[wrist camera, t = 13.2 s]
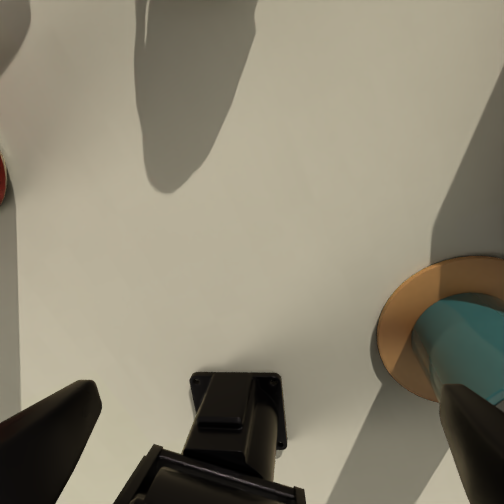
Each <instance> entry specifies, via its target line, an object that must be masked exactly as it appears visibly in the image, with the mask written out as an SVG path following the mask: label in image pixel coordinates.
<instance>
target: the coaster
mask: <svg viewBox="0 0 504 504" xmlns="http://www.w3.org/2000/svg"><path fill="white" fill-rule="evenodd" d="M469 292H470V293H484V294H488V295H492V296H495V297H497V298H500V299H501V300H503V301H504V259H501V258H496V257H488V256H467V257H458V258H453V259H449V260H445V261H442V262H439V263H436V264H433V265H431V266H429V267H427V268H424V269H422V270H421V271H419V272H417V273H416V274H414V275H412V276H411V277H410V278H409V279H407V280H406V281H405V282H403V283H402V284H401V285H400V286H399V287H398V288H397V289H396V290H395V292H394V293H393V294H392V295H391V297H390V298H389V299H388V301H387V303H386V304H385V306H384V308H383V310H382V313H381V315H380V318H379V322H378V326H377V345H378V350H379V354H380V356H381V359H382V361H383V364H384V365H385V367H386V369H387V370H388V372H389V373H390V374H391V376H392V377H393V378H394V379H395V380H396V381H397V382H398V383H399V384H400V385H401V386H403V387H404V388H406V389H407V390H408V391H410V392H412V393H414V394H416V395H417V396H420V397H422V398H425V399H427V400H431V401H434V402H438V403H439V401H438V399H437V398H436V396H435V394H434V392H433V390H432V388H431V386H430V384H429V382H428V380H427V379H426V377H425V375H424V373H423V371H422V369H421V367H420V365H419V363H418V362H417V360H416V358H415V356H414V353H413V351H412V346H411V336H412V331H413V328H414V325H415V323H416V321H417V320H418V318H419V317H420V316H421V314H422V313H423V312H424V311H425V310H426V309H427V308H428V307H430V306H431V305H433V304H434V303H436V302H437V301H439V300H441V299H443V298H446V297H448V296H452V295H455V294H460V293H469Z"/></svg>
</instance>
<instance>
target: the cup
mask: <svg viewBox="0 0 504 504" xmlns="http://www.w3.org/2000/svg"><path fill="white" fill-rule="evenodd" d="M411 346H412V351H413V353H414V356H415V358H416V360H417V362H418V363H419V365H420V367H421V369H422V371H423V373H424V375H425V377H426V379H427V380H428V382H429V384H430V386H431V388H432V390H433V392H434V394H435V396H436V398H437V399H438V401H439V403H440V398H441V388H442V386H443V385H444V384H463V385H465V386H466V387H468V388H469V389H471V390H472V391H474V392H475V393H477V394H478V395H480V396H481V397H483V398H484V399H486V400H487V401H488V402H490V403H491V404H493V405H494V406H496V407H497V408H499V409H500V410H502V411H503V412H504V301H503V300H501V299H500V298H497V297H495V296H492V295H488V294H484V293H470V292H469V293H460V294H455V295H452V296H448V297H446V298H443V299H441V300H439V301H437V302H436V303H434V304H433V305H431V306H430V307H428V308H427V309H426V310H425V311H424V312H423V313H422V314H421V316H420V317H419V318H418V320H417V321H416V323H415V325H414V328H413V331H412V336H411Z"/></svg>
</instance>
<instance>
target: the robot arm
mask: <svg viewBox="0 0 504 504" xmlns="http://www.w3.org/2000/svg"><path fill="white" fill-rule="evenodd" d="M196 379H198V380H199V381H197V380H196ZM271 380H276V382H273V381H271ZM190 385H191V390H192V395H193V400H194V405H195V410H196V417H195V419H194V422H193V425H192V427H191V430H190V432H189V435H188V437H187V440H186V443H185V445H184V448H183V450H182V453H181V454H179V453H176V452H172V451H169V450H166V449H163V447H162V446H159V445H156V444H154V445H153V446H152V448H151V449H150V451H149V452H148V454H147V455H146V456H144V457H143V458H142V460H141V461H140V463H139V464H138V466H137V467H136V469H135V471H134V472H133V474H132V475H131V477H130V478H129V480H128V481H127V483H126V484H125V486H124V488H123V489H122V491H121V492H120V494H119V495H118V497H117V498H116V500H115V501H114V503H113V504H306V499H305V492H304V489H302V488H299V487H295V486H294V488H292V487H288V486H285V485H282V484H278V483H275V482H273V479H274V468H275V456H276V450H284V449H286V448H287V431H286V421H285V411H284V400H283V390H282V380H281V376H280V375H279V374H277V373H247V372H195V373H193V374H192V376H191V378H190ZM101 409H102V402H101V399H100V396H99V392H98V389H97V386H96V383H95V382H94V381H93V380H78V381H76V382H74V383H72V384H70V385H68V386H67V387H65V388H63V389H61V390H59V391H57V392H56V393H54V394H52V395H50V396H48V397H47V398H45V399H43V400H41V401H39V402H37V403H36V404H34V405H32V406H30V407H28V408H27V409H25V410H23V411H21V412H19V413H17V414H16V415H14V416H12V417H10V418H8V419H7V420H5V421H3V422H1V423H0V504H55V503H56V501H57V500H58V498H59V496H60V494H61V492H62V491H63V489H64V487H65V485H66V484H67V482H68V480H69V478H70V476H71V475H72V473H73V471H74V469H75V467H76V465H77V463H78V461H79V459H80V456H81V454H82V452H83V450H84V448H85V446H86V443H87V441H88V439H89V437H90V435H91V433H92V430H93V428H94V426H95V424H96V422H97V420H98V417H99V415H100V413H101ZM439 413H440V420H441V424H442V427H443V429H444V432H445V435H446V438H447V441H448V444H449V447H450V450H451V453H452V455H453V458H454V461H455V464H456V467H457V470H458V473H459V476H460V479H461V481H462V484H463V487H464V490H465V492H466V495H467V497H468V500H469V502H470V504H504V412H503V411H502V410H500V409H499V408H497V407H496V406H494V405H493V404H491V403H490V402H488V401H487V400H486V399H484V398H483V397H481V396H480V395H478V394H477V393H475V392H474V391H472V390H471V389H469V388H468V387H466V386H465V385H463V384H444V385H443V386H442V388H441V398H440V411H439ZM280 442H282V443H280Z"/></svg>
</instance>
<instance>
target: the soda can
mask: <svg viewBox="0 0 504 504" xmlns="http://www.w3.org/2000/svg"><path fill="white" fill-rule="evenodd" d="M6 189H7V169H6V164H5V161H4V158H3V155H2V153H1V151H0V205H1V203H2V201H3V199H4V197H5V193H6Z"/></svg>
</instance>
